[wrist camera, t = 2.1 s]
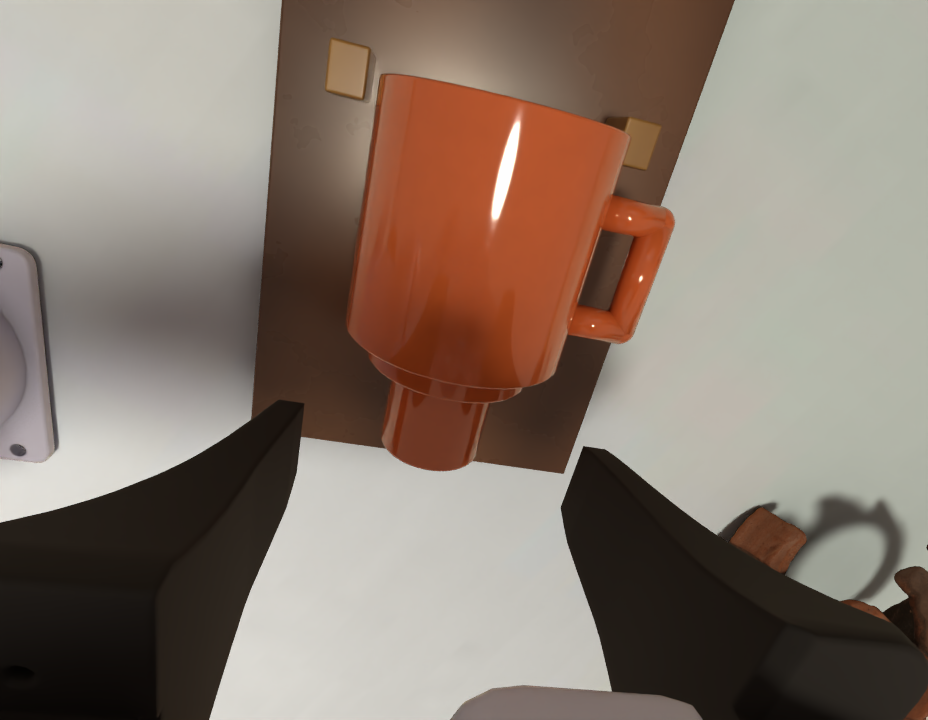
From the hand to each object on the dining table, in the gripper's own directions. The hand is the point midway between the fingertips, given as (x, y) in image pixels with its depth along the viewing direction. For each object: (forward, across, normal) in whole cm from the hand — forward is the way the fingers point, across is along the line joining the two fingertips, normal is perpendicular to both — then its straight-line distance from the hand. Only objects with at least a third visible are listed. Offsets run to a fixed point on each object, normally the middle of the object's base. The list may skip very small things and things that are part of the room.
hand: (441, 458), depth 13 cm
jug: (+3, -1, -8) cm, 9 cm away
